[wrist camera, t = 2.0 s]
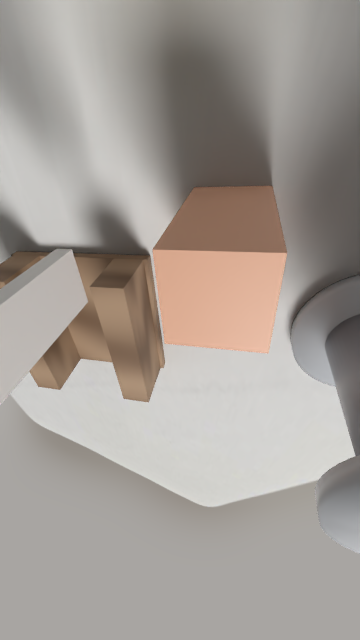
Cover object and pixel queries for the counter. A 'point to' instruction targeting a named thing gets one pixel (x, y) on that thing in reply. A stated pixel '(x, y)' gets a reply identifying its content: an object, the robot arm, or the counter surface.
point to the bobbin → (353, 390)
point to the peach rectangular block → (221, 269)
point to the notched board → (104, 322)
